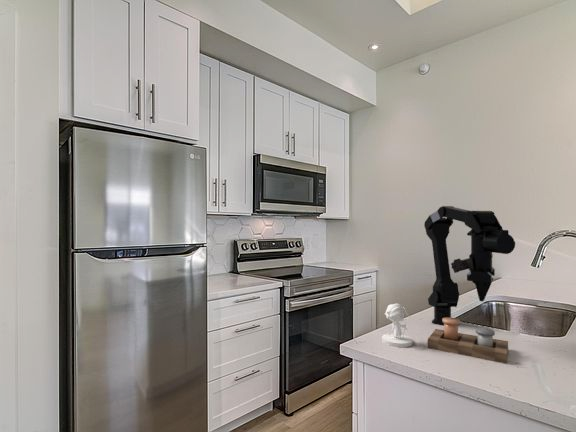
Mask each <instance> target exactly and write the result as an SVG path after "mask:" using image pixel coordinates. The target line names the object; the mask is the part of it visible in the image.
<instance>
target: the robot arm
mask: <svg viewBox="0 0 576 432" xmlns="http://www.w3.org/2000/svg"><path fill="white" fill-rule="evenodd" d="M454 221H458V222H462V223H464V225H465V226H466V227H468V228H469V229H470V230H469V231H468V232H467V233H466V236H470V239H471V240H470V243H471V244H470V248H471V249H470V254H469V255H468V258H464V259H461V258H455V259H453V262H451V263H449V253H448V247H447V238H448V236H449V235H450V228H451V226H452V225H453V224H454ZM423 227H424V229H425V233H426V235H427V237H428V238H429V240H431V245H432V251H433V262H434V269H435V271H434V272H435V281H434V283H433V285H432V293H431V294H430V295H429V297H428V298H427V301H428V305H429V306H431V307H433V314H434V315H433V319H432V320H431V324H439V325H443V326H444V323H443V322H442V318H446V317H449V318H452V308H457V306H458V303H459V299H460V292H459V291H460V290H459V284H458V283H457V282H454V281H453V279H452V276H451V270H450V264H451V269H452V270H453V272H454V274H458V273H459V272H462V271H465V270H468V271H469V272H468V273H466V281H467V282H472V283H473V284H474V285H475V288H476V292H477V296H478V300H479V301H480V302H484V301H485V299H486V297H487V294H488V292H489V290H490V287H491V285H492V283H493V281H494V278H493V277H495V275H496V272H495V271H496V269H495V268H494V266H493V255H494V254H495V253H496V254H502V255H503V254H504V255H509V254H511V253H512V252H513V251H514V249H515V247H516V241H515V239H514V238H513V236H512V235H510V234H509V230H508V229H503V226H502V225H501V224H500V221H499V220H498V218H497V216H496V214H495V212H494V211H493V210H469V209H464V208H459V207H455V206H453V205H447V206H446V205H443V206H440V207H439V208H438V209H437V210H436V211H434V212H433V213H431V214H429V215H428V217H427V218H426V220H424V226H423Z"/></svg>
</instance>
